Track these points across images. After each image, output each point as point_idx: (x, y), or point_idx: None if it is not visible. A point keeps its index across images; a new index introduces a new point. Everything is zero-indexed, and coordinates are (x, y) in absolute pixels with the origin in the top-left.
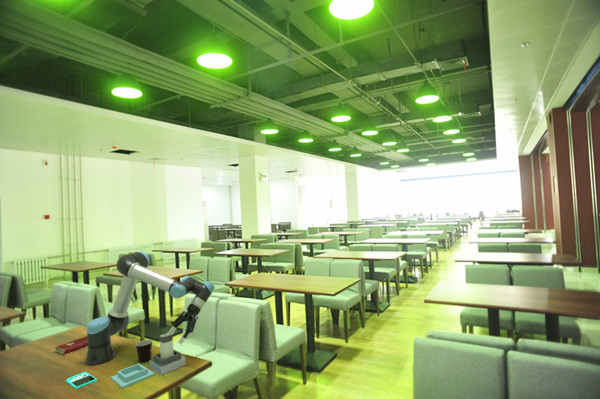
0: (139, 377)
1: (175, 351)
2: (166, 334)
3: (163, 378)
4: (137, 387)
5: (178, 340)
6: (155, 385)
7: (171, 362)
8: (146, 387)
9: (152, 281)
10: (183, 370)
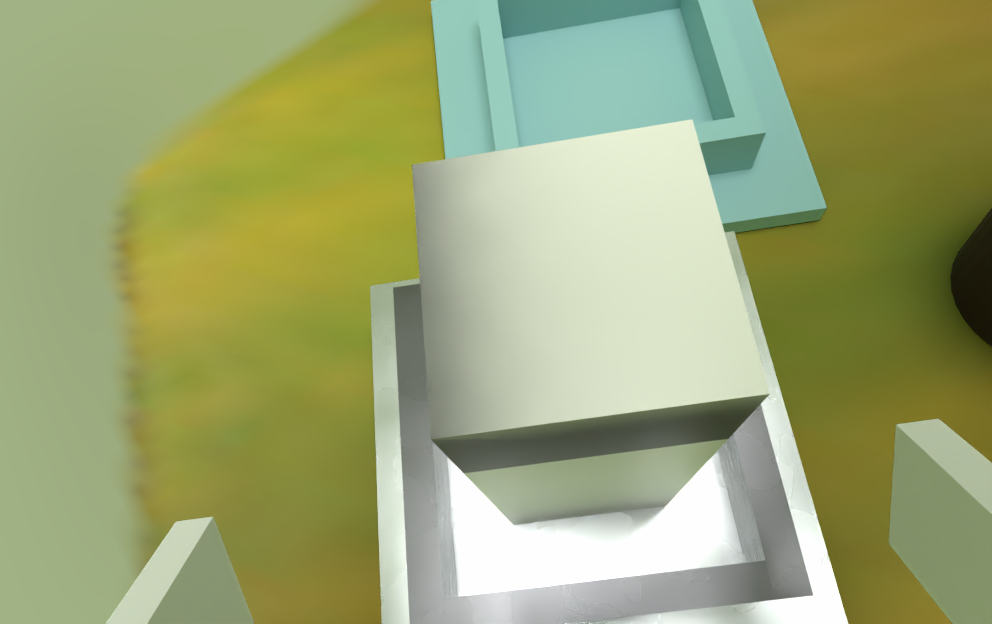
0: (487, 129)
1: (588, 590)
2: (640, 303)
3: (300, 320)
4: (344, 104)
5: (189, 547)
6: (232, 224)
7: (397, 442)
8: (272, 158)
9: None
10: (279, 572)
